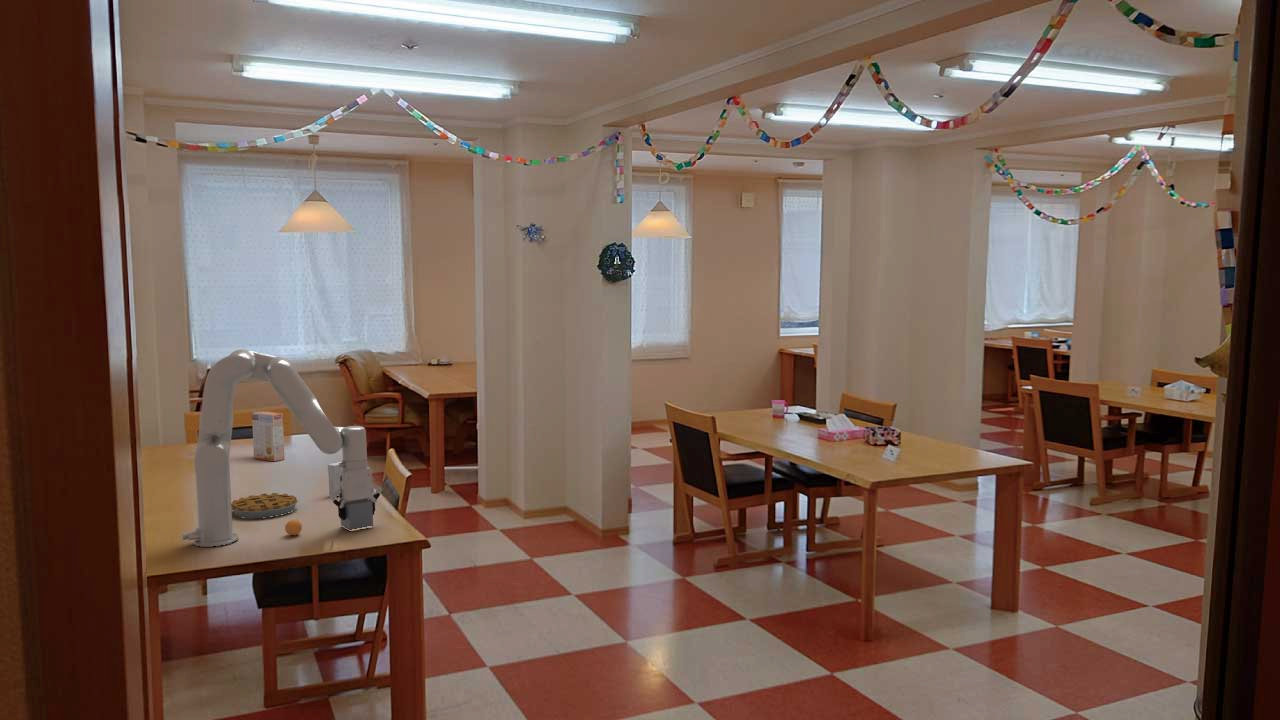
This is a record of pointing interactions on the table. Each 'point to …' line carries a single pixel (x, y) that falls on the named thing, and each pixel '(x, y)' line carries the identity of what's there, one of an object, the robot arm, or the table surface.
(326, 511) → the table surface
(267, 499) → the pie
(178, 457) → the table surface
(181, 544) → the table surface
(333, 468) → the skincare box
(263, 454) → the cracker box
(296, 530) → the ball
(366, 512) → the rounded grey cube
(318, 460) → the table surface
